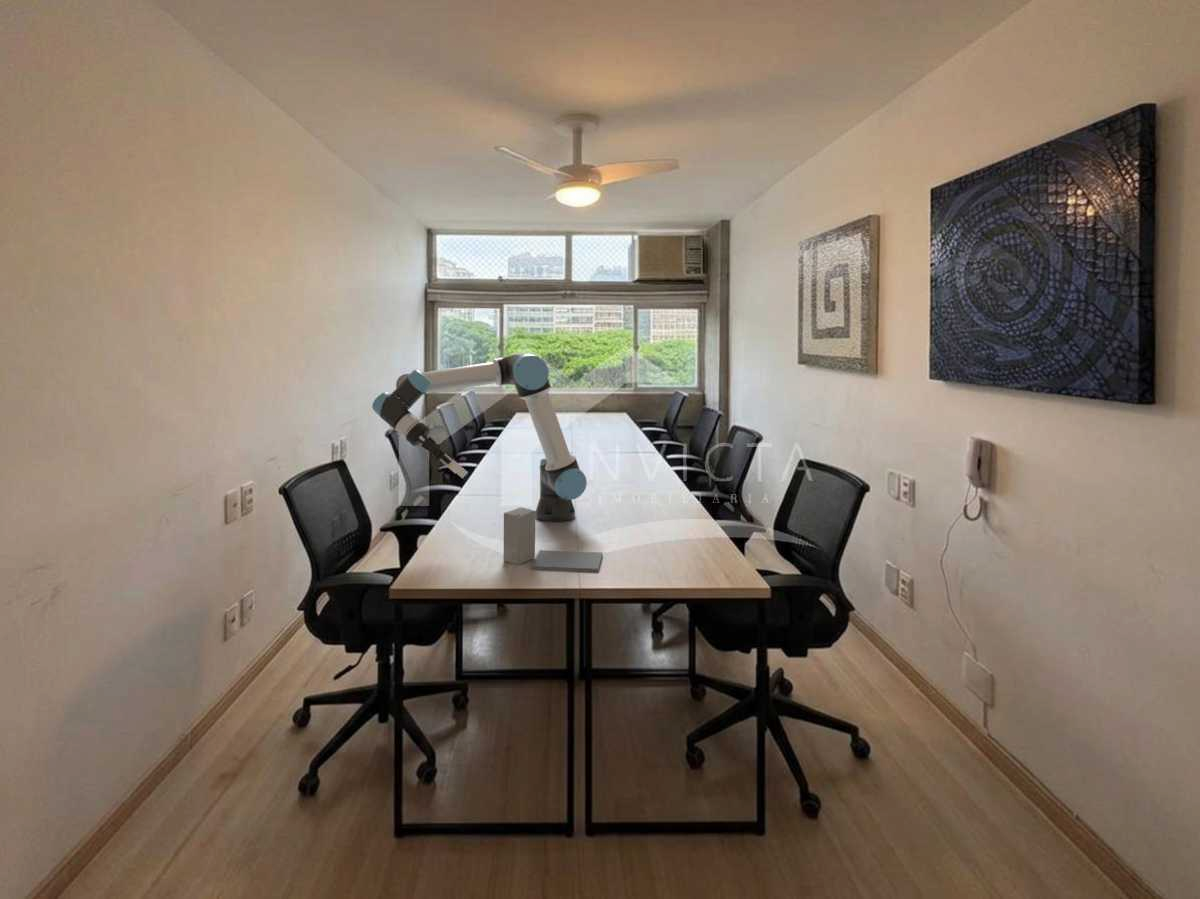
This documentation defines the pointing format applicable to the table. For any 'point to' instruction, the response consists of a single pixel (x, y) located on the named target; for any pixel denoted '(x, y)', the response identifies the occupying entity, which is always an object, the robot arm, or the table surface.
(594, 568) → the slate mat
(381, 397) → the robot arm
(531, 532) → the skincare box
